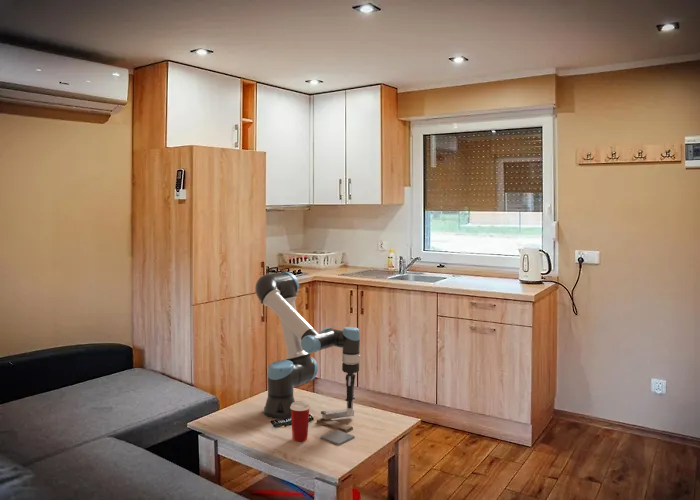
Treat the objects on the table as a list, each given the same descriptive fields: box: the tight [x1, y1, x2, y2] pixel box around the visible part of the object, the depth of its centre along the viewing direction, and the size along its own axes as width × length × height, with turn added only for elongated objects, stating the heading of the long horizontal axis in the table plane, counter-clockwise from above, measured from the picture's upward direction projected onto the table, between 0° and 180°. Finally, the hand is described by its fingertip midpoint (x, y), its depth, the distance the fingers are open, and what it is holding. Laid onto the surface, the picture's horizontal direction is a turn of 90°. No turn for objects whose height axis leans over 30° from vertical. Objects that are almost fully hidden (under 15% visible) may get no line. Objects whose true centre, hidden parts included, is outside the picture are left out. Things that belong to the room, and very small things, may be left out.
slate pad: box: [320, 429, 355, 446], centre depth 238 cm, size 10×10×1 cm
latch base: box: [316, 417, 354, 434], centre depth 251 cm, size 17×4×1 cm, turn 51°
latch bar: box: [320, 408, 355, 420], centre depth 257 cm, size 15×3×3 cm, turn 112°
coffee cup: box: [290, 400, 311, 443], centre depth 236 cm, size 8×8×15 cm
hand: (349, 414), depth 257 cm, fingers closed
